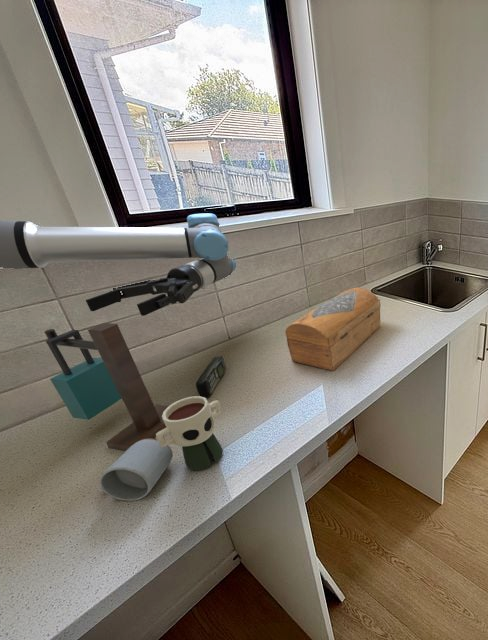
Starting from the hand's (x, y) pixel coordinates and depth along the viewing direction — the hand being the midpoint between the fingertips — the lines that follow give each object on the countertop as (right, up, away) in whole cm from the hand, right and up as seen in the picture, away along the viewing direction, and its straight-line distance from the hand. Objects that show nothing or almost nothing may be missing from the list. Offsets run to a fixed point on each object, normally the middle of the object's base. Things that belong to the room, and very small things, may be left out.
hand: (114, 308), depth 74 cm
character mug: (+26, -31, -8) cm, 41 cm away
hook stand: (+3, -26, 0) cm, 27 cm away
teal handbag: (-2, -22, -1) cm, 22 cm away
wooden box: (+41, -10, +34) cm, 55 cm away
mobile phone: (+13, -19, +15) cm, 28 cm away
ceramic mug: (+17, -33, -13) cm, 39 cm away
